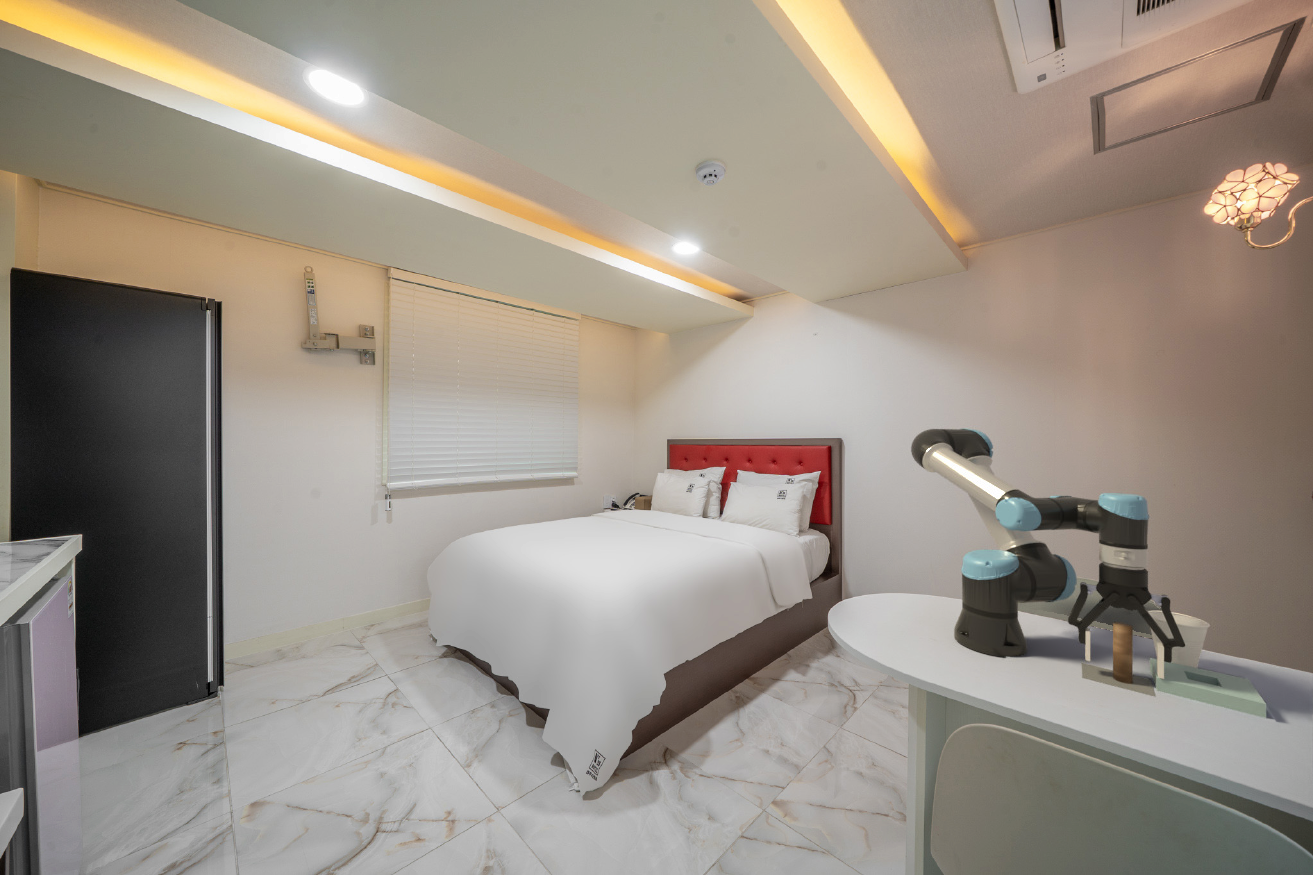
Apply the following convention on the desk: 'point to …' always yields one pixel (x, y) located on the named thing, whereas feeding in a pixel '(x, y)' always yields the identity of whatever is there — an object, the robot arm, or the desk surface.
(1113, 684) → the mat
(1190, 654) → the cup
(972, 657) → the desk surface
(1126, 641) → the peg
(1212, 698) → the socket block
